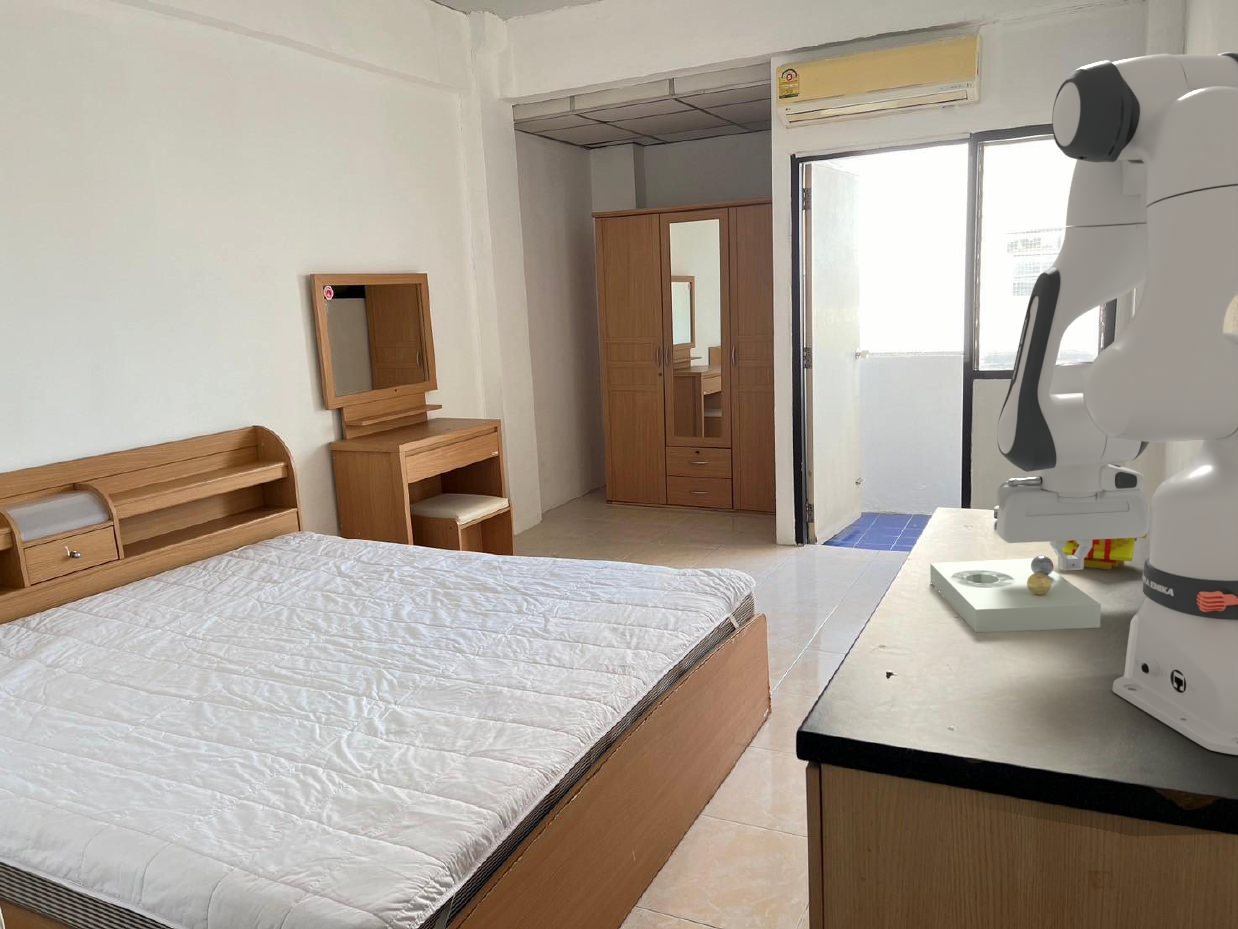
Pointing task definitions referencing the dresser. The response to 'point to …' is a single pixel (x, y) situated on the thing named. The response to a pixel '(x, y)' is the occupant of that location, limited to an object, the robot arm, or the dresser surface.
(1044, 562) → the ball
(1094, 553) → the toy
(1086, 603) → the board
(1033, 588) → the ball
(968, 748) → the dresser surface
